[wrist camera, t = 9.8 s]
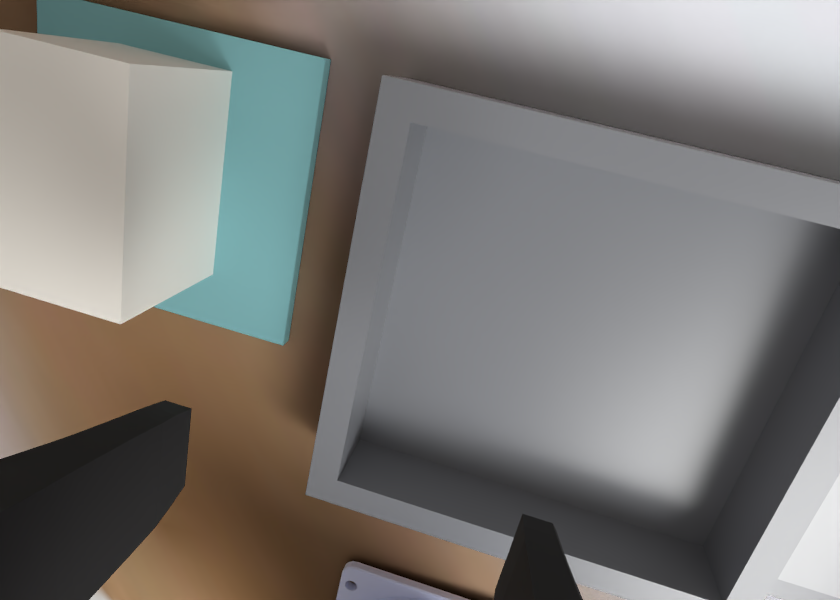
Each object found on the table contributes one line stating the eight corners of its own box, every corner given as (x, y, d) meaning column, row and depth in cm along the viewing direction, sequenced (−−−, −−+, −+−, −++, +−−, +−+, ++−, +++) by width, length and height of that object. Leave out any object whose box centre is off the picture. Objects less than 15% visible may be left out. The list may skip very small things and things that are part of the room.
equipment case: (1163, 708, 20) (1263, 807, 17) (334, 447, 23) (305, 494, 20) (1533, 347, 15) (1760, 405, 12) (407, 78, 18) (382, 74, 15)
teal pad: (288, 340, 22) (283, 345, 22) (52, 270, 23) (42, 273, 23) (330, 59, 18) (325, 58, 18) (48, -9, 20) (36, -11, 19)
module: (212, 274, 21) (120, 324, 17) (113, 245, 22) (-4, 286, 17) (232, 71, 19) (129, 63, 14) (119, 43, 19) (-17, 26, 15)
